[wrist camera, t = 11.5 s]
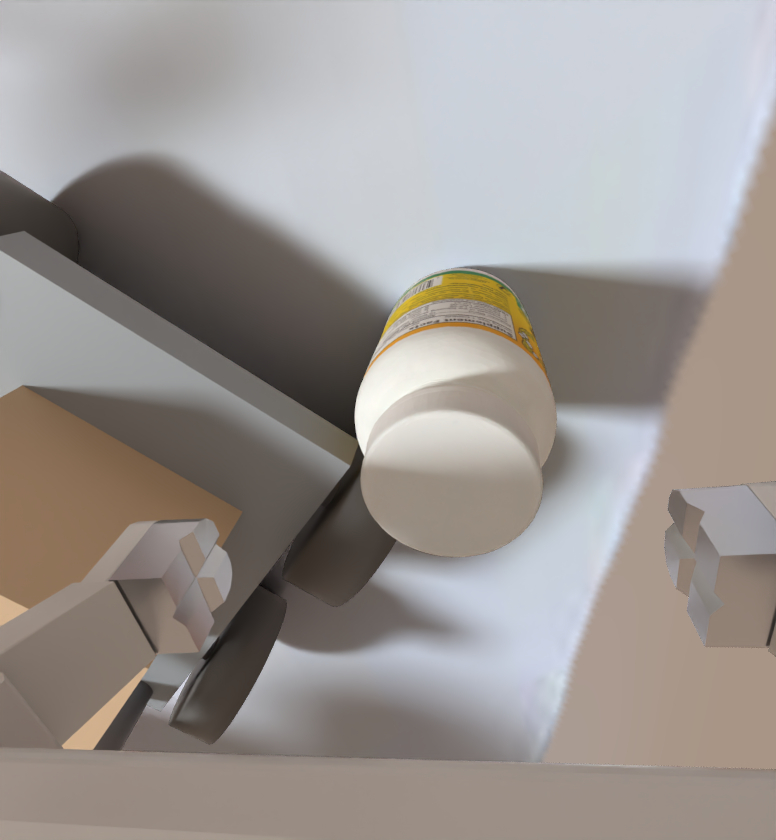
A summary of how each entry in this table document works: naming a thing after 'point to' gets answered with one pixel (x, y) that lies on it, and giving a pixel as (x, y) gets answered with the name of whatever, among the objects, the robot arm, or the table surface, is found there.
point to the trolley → (157, 469)
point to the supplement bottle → (455, 417)
